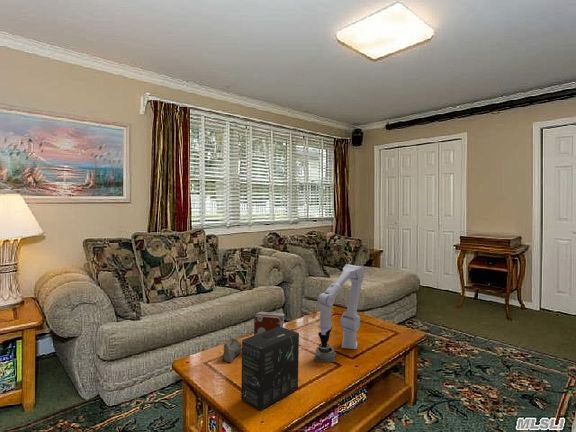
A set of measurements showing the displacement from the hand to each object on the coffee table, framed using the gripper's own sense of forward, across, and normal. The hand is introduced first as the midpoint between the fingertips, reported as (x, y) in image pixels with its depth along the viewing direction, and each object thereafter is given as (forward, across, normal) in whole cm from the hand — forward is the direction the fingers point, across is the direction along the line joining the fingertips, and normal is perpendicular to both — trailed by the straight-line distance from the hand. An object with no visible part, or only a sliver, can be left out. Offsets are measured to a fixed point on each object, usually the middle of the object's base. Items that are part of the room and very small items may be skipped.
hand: (325, 343), depth 176 cm
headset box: (+7, +39, -17) cm, 43 cm away
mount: (+7, 0, 0) cm, 7 cm away
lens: (+6, 0, 0) cm, 6 cm away
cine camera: (+7, +1, -27) cm, 28 cm away
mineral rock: (+7, +12, -44) cm, 47 cm away
